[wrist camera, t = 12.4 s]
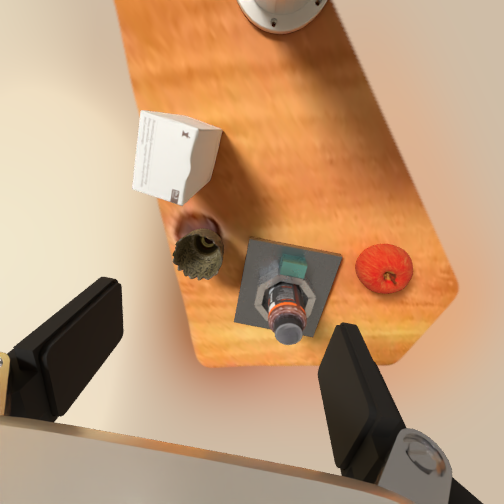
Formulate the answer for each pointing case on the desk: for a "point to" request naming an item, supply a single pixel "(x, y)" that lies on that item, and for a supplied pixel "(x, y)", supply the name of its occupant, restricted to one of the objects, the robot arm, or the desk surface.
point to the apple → (384, 268)
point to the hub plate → (284, 280)
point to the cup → (199, 254)
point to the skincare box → (174, 155)
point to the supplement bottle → (286, 312)
